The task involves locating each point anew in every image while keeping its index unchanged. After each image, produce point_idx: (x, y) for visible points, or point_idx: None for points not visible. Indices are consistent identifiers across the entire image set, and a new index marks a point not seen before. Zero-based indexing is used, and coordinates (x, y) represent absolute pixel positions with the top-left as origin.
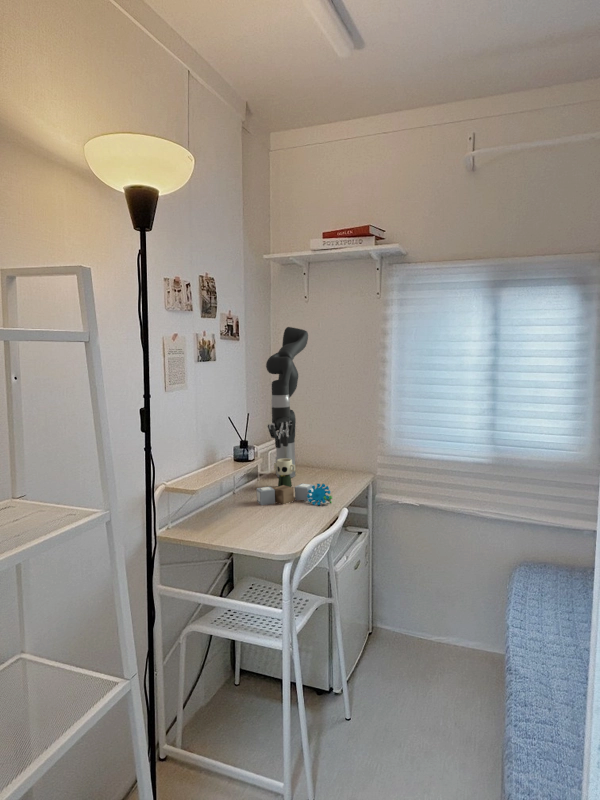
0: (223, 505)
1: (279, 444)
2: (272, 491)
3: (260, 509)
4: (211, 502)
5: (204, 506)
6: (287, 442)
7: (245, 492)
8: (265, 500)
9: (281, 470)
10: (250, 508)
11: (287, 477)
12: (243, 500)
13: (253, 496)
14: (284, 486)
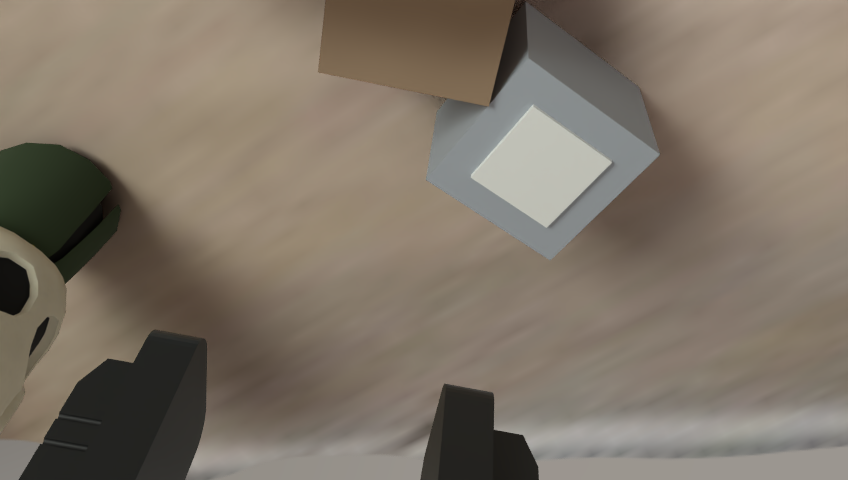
0: (747, 344)
1: (490, 469)
2: (551, 68)
3: (768, 19)
4: (702, 440)
5: (811, 432)
6: (122, 406)
7: (367, 379)
8: (609, 79)
9: (36, 302)
10: (764, 122)
11: (12, 214)
12: (564, 290)
13: (427, 282)
14: (359, 26)
